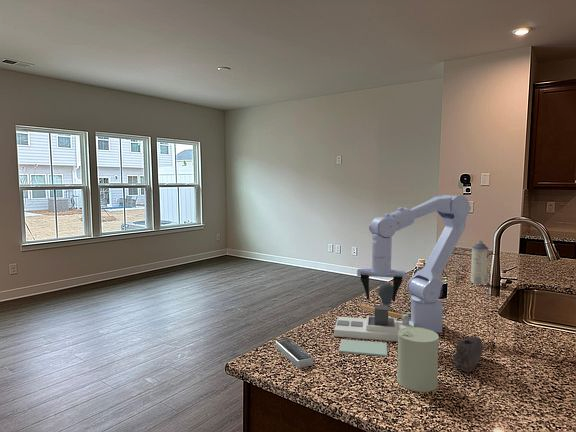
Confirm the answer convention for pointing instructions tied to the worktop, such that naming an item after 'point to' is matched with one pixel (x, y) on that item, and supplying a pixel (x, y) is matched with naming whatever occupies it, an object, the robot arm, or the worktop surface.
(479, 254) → the aerosol can
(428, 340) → the can
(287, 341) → the multiport hub
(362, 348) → the mat
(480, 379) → the worktop surface
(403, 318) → the hammer
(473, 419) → the worktop surface
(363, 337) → the white panel
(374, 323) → the plug
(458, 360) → the perforated stone tool
